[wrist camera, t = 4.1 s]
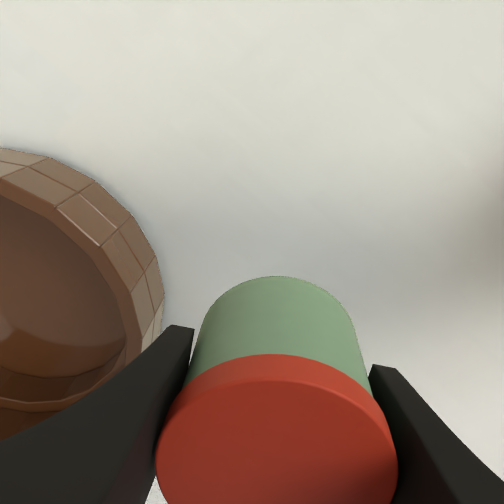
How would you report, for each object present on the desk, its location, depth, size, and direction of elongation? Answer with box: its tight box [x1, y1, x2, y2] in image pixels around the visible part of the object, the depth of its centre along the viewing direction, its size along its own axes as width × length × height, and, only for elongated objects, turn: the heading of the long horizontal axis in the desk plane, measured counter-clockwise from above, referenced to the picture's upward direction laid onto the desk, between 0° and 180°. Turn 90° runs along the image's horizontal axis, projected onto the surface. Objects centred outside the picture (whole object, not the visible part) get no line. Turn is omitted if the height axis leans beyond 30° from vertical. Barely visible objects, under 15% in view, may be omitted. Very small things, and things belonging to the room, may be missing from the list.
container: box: [155, 276, 398, 504], centre depth 11 cm, size 5×5×5 cm
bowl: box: [0, 148, 165, 441], centre depth 19 cm, size 12×12×4 cm
